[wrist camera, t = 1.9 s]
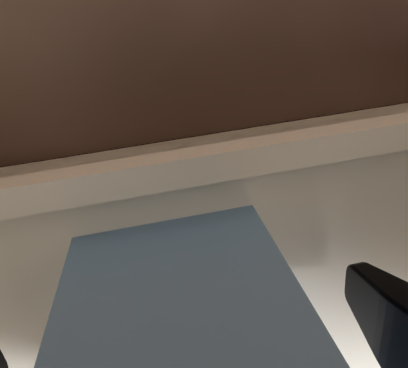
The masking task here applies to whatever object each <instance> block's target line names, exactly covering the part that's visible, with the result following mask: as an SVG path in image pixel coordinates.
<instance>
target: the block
mask: <svg viewBox="0 0 408 368" xmlns="http://www.w3.org/2000/svg"><path fill="white" fill-rule="evenodd" d="M34 368H350V367H349V365H348V363H347V362H346V360H345V358H344V357H343V355H342V353H341V352H340V350H339V348H338V347H337V345H336V343H335V342H334V340H333V338H332V337H331V335H330V333H329V332H328V330H327V328H326V327H325V325H324V323H323V322H322V320H321V318H320V317H319V315H318V313H317V312H316V310H315V308H314V307H313V305H312V303H311V302H310V300H309V298H308V297H307V295H306V293H305V292H304V290H303V288H302V287H301V285H300V283H299V282H298V280H297V278H296V277H295V275H294V273H293V272H292V270H291V268H290V267H289V265H288V263H287V262H286V260H285V258H284V257H283V255H282V253H281V252H280V250H279V248H278V247H277V245H276V243H275V242H274V240H273V238H272V237H271V235H270V233H269V232H268V230H267V228H266V227H265V225H264V223H263V222H262V220H261V219H260V217H259V215H258V214H257V212H256V210H255V209H254V207H253V205H250V206H244V207H238V208H233V209H227V210H222V211H216V212H211V213H205V214H200V215H194V216H189V217H183V218H178V219H172V220H167V221H161V222H156V223H150V224H145V225H139V226H134V227H128V228H123V229H117V230H112V231H106V232H100V233H95V234H89V235H84V236H78V237H73V238H72V240H71V243H70V246H69V250H68V253H67V257H66V260H65V263H64V267H63V270H62V273H61V277H60V280H59V284H58V287H57V290H56V294H55V297H54V301H53V304H52V307H51V311H50V314H49V318H48V321H47V324H46V328H45V331H44V335H43V338H42V341H41V345H40V348H39V351H38V355H37V358H36V362H35V365H34Z"/></svg>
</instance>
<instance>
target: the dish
mask: <svg viewBox="0 0 408 368" xmlns="http://www.w3.org/2000/svg"><path fill="white" fill-rule="evenodd" d="M250 205H253V207H254V209H255V210H256V212H257V214H258V215H259V217H260V219H261V220H262V222H263V223H264V225H265V227H266V228H267V230H268V232H269V233H270V235H271V237H272V238H273V240H274V242H275V243H276V245H277V247H278V248H279V250H280V252H281V253H282V255H283V257H284V258H285V260H286V262H287V263H288V265H289V267H290V268H291V270H292V272H293V273H294V275H295V277H296V278H297V280H298V282H299V283H300V285H301V287H302V288H303V290H304V292H305V293H306V295H307V297H308V298H309V300H310V302H311V303H312V305H313V307H314V308H315V310H316V312H317V313H318V315H319V317H320V318H321V320H322V322H323V323H324V325H325V327H326V328H327V330H328V332H329V333H330V335H331V337H332V338H333V340H334V342H335V343H336V345H337V347H338V348H339V350H340V352H341V353H342V355H343V357H344V358H345V360H346V362H347V363H348V365H349V367H350V368H381V367H380V365H379V363H378V362H377V360H376V358H375V356H374V354H373V352H372V351H371V349H370V347H369V345H368V343H367V341H366V339H365V337H364V335H363V333H362V331H361V329H360V327H359V325H358V323H357V321H356V319H355V317H354V315H353V313H352V311H351V309H350V307H349V305H348V303H347V301H346V298H345V292H344V290H345V277H346V268H347V266H348V265H350V264H354V263H359V262H367V263H369V264H371V265H373V266H375V267H377V268H380V269H382V270H384V271H386V272H388V273H390V274H392V275H394V276H396V277H398V278H400V279H403V280H405V281H407V282H408V103H405V104H398V105H392V106H386V107H379V108H373V109H367V110H360V111H354V112H348V113H342V114H335V115H329V116H323V117H316V118H310V119H304V120H298V121H291V122H285V123H279V124H272V125H266V126H260V127H253V128H247V129H241V130H235V131H228V132H222V133H216V134H209V135H203V136H197V137H190V138H184V139H178V140H172V141H165V142H159V143H153V144H146V145H140V146H134V147H128V148H121V149H115V150H109V151H102V152H96V153H90V154H83V155H77V156H71V157H65V158H58V159H52V160H46V161H39V162H33V163H27V164H21V165H14V166H8V167H2V168H0V350H1V352H2V353H3V355H4V357H5V359H6V361H7V363H8V368H34V365H35V362H36V358H37V355H38V351H39V348H40V345H41V341H42V338H43V335H44V331H45V328H46V324H47V321H48V318H49V314H50V311H51V307H52V304H53V301H54V297H55V294H56V290H57V287H58V284H59V280H60V277H61V273H62V270H63V267H64V263H65V260H66V257H67V253H68V250H69V246H70V243H71V240H72V238H73V237H78V236H84V235H89V234H95V233H100V232H106V231H112V230H117V229H123V228H128V227H134V226H139V225H145V224H150V223H156V222H161V221H167V220H172V219H178V218H183V217H189V216H194V215H200V214H205V213H211V212H216V211H222V210H227V209H233V208H238V207H244V206H250Z"/></svg>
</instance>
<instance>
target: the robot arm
mask: <svg viewBox="0 0 408 368" xmlns="http://www.w3.org/2000/svg"><path fill="white" fill-rule="evenodd" d="M344 292H345V298H346V301H347V303H348V305H349V307H350V309H351V311H352V313H353V315H354V317H355V319H356V321H357V323H358V325H359V327H360V329H361V331H362V333H363V335H364V337H365V339H366V341H367V343H368V345H369V347H370V349H371V351H372V352H373V354H374V356H375V358H376V360H377V362H378V363H379V365H380V367H381V368H408V282H407V281H405V280H403V279H400V278H398V277H396V276H394V275H392V274H390V273H388V272H386V271H384V270H382V269H380V268H377V267H375V266H373V265H371V264H369V263H367V262H359V263H354V264H350V265H348V266H347V268H346V277H345V290H344ZM0 368H8V363H7V361H6V359H5V357H4V355H3V353H2V352H1V350H0Z"/></svg>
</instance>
